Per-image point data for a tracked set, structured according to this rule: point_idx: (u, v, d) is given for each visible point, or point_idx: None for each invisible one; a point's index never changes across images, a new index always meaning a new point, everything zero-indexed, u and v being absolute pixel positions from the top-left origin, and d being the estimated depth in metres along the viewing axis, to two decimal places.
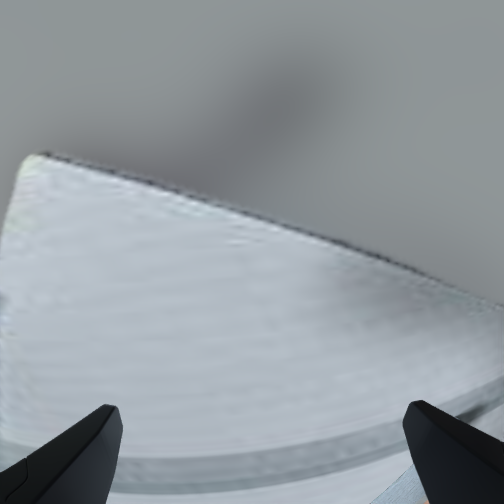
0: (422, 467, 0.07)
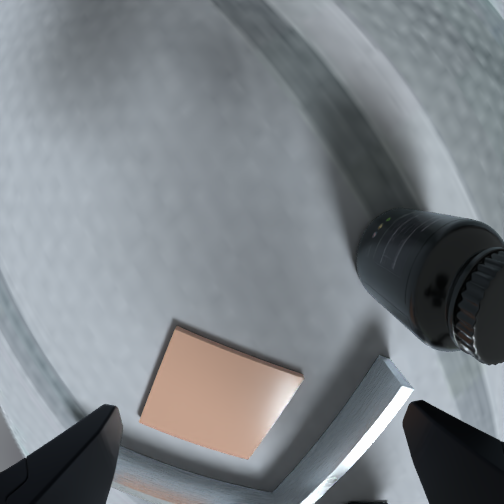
0: (422, 467, 0.07)
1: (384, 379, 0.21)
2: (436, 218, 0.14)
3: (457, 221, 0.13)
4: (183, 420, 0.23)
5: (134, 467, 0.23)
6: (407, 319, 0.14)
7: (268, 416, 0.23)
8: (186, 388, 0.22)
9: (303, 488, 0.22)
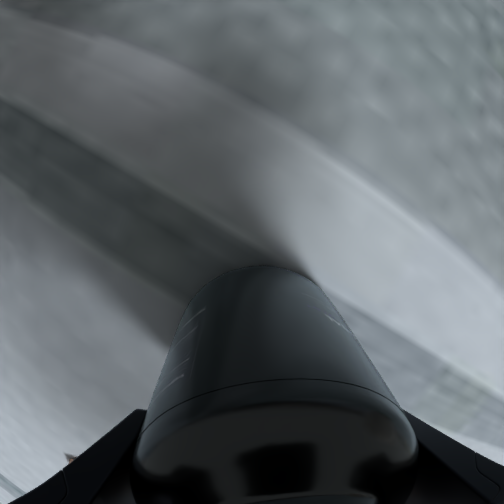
0: None
1: None
2: (177, 371, 0.07)
3: (171, 415, 0.05)
4: None
5: None
6: None
7: None
8: None
9: None
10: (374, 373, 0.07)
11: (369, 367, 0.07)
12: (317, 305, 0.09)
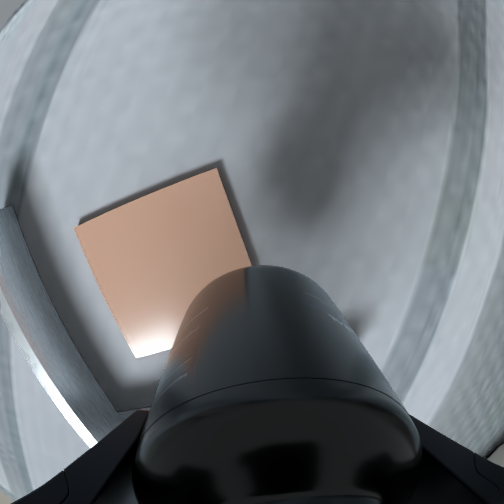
0: None
1: None
2: (180, 370, 0.07)
3: (174, 415, 0.05)
4: (120, 262, 0.19)
5: (19, 271, 0.18)
6: None
7: None
8: (161, 232, 0.19)
9: None
10: (377, 372, 0.07)
11: (372, 366, 0.07)
12: (320, 304, 0.09)
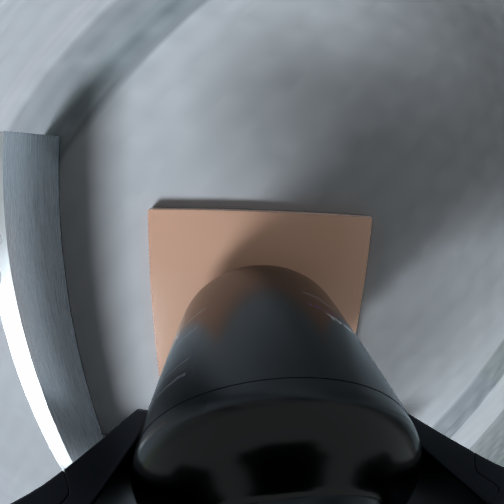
0: None
1: None
2: (178, 370, 0.07)
3: (172, 415, 0.05)
4: (198, 282, 0.15)
5: (40, 237, 0.12)
6: None
7: None
8: None
9: None
10: (376, 372, 0.07)
11: (371, 366, 0.07)
12: (318, 304, 0.09)
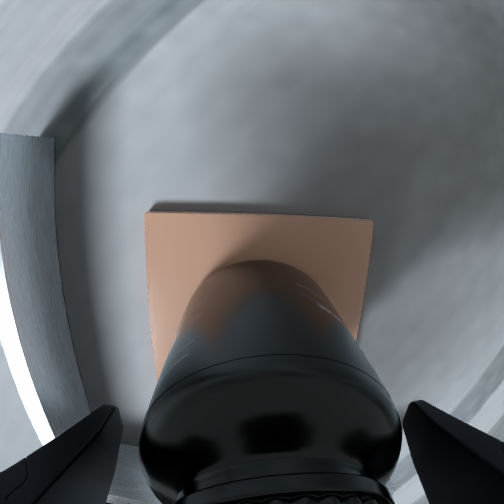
0: (422, 467, 0.07)
1: None
2: (183, 351, 0.08)
3: (178, 387, 0.06)
4: (196, 287, 0.14)
5: (35, 241, 0.12)
6: None
7: None
8: None
9: None
10: (359, 355, 0.08)
11: (355, 349, 0.08)
12: (310, 295, 0.10)
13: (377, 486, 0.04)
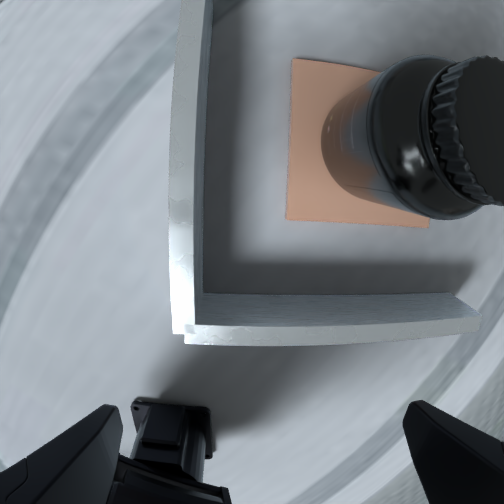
0: (422, 467, 0.07)
1: (458, 304, 0.19)
2: (377, 75, 0.11)
3: (397, 62, 0.10)
4: (328, 111, 0.18)
5: (205, 62, 0.16)
6: (393, 194, 0.11)
7: (373, 213, 0.19)
8: None
9: (293, 316, 0.18)
10: None
11: None
12: None
13: None
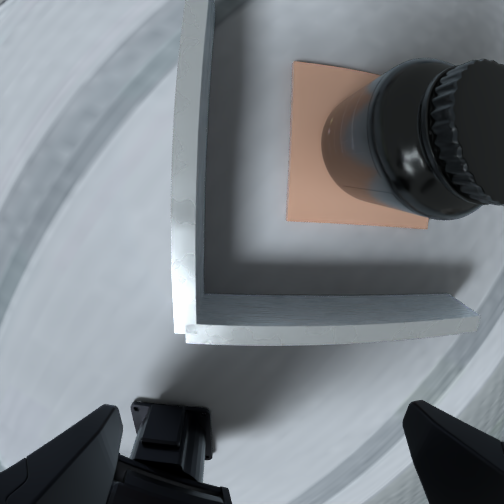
0: (422, 467, 0.07)
1: (457, 305, 0.20)
2: (377, 78, 0.12)
3: (397, 66, 0.10)
4: (328, 114, 0.18)
5: (207, 65, 0.16)
6: (392, 195, 0.12)
7: (373, 214, 0.20)
8: None
9: (294, 316, 0.18)
10: None
11: None
12: None
13: None
